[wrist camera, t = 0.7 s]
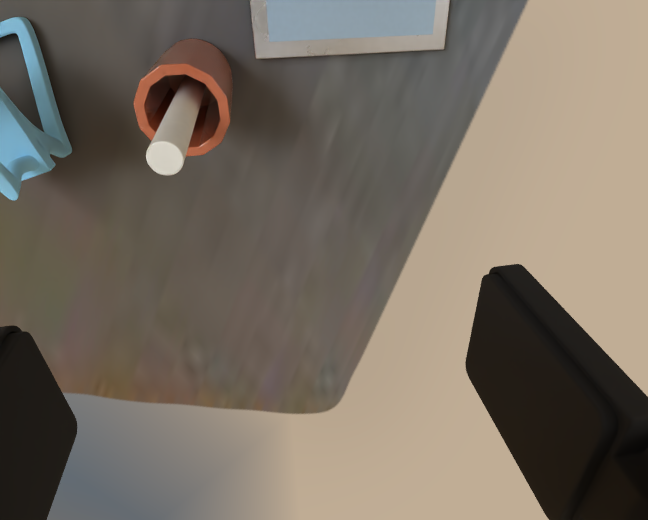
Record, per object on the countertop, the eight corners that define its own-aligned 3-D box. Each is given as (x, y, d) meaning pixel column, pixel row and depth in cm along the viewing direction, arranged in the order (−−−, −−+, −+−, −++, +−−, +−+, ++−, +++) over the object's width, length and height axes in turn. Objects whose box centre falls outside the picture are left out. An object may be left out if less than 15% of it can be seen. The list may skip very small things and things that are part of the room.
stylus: (183, 67, 29) (141, 142, 17) (205, 65, 29) (179, 139, 17) (187, 89, 30) (150, 177, 18) (209, 88, 30) (186, 174, 18)
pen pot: (154, 40, 28) (123, 66, 21) (226, 36, 29) (222, 61, 22) (169, 112, 31) (147, 159, 24) (236, 108, 32) (234, 153, 24)
